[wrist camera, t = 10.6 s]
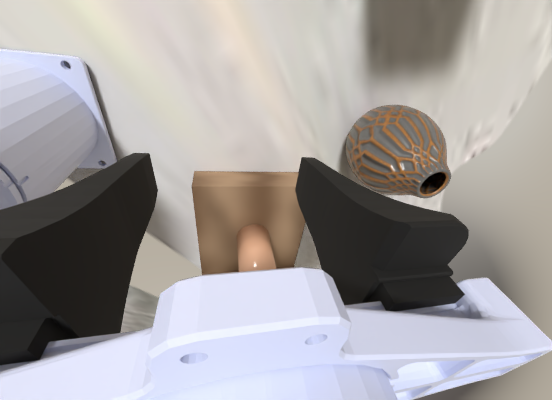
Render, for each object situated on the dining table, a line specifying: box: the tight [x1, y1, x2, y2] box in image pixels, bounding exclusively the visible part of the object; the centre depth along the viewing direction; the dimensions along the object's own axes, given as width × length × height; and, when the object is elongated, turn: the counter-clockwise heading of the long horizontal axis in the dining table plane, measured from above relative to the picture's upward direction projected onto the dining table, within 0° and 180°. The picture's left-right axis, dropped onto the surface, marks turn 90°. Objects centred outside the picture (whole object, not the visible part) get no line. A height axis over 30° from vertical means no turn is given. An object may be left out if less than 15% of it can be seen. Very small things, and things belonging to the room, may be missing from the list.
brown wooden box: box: [192, 171, 306, 275], centre depth 25 cm, size 11×13×5 cm
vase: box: [346, 105, 451, 198], centre depth 19 cm, size 7×7×9 cm
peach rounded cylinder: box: [237, 225, 276, 272], centre depth 22 cm, size 3×3×6 cm
